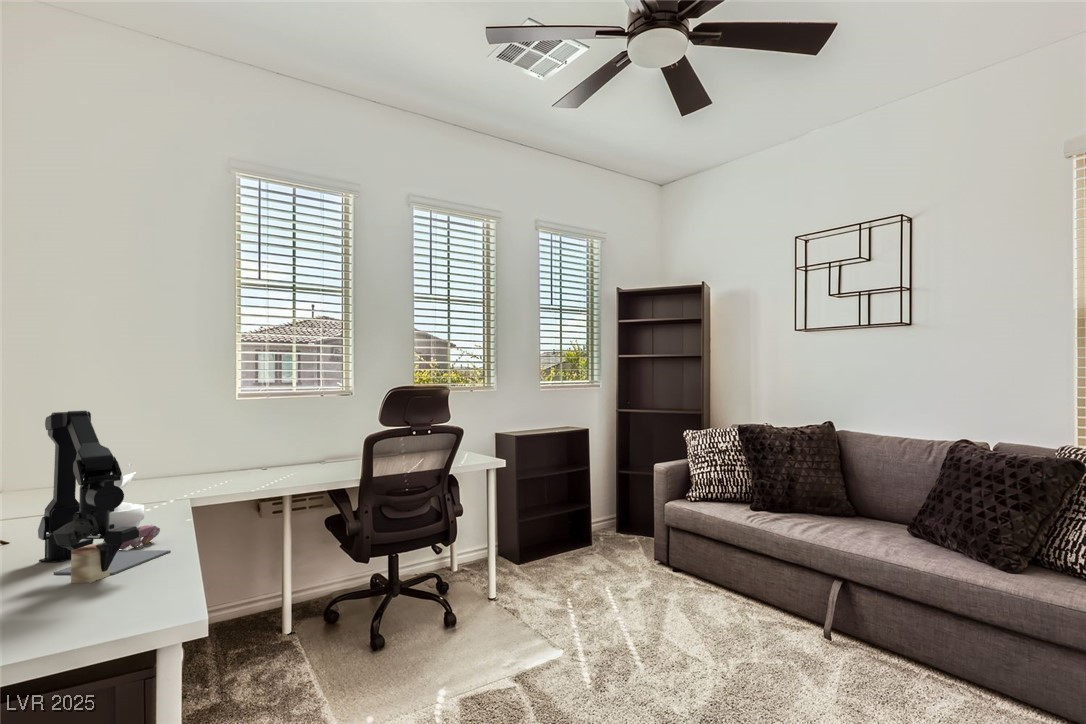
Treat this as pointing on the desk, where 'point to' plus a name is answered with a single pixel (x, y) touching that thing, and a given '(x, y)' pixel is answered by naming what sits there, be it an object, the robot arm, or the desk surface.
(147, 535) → the video game controller
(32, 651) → the desk surface
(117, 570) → the rubber mat
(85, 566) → the tall block
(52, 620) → the desk surface
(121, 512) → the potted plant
